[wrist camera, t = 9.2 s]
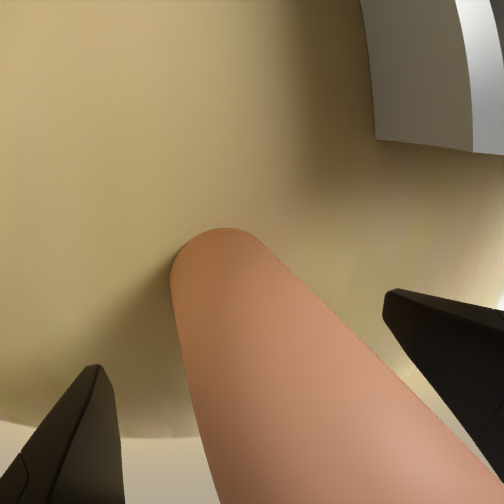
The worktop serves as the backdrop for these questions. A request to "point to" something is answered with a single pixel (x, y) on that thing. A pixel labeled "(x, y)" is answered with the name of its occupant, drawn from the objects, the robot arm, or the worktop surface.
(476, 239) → the worktop surface
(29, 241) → the worktop surface
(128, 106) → the worktop surface
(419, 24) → the socket block
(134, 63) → the worktop surface
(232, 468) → the dowel
